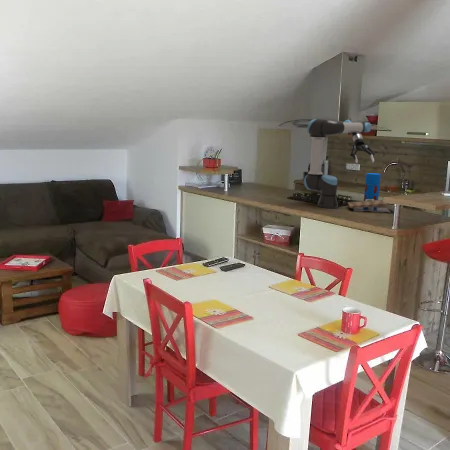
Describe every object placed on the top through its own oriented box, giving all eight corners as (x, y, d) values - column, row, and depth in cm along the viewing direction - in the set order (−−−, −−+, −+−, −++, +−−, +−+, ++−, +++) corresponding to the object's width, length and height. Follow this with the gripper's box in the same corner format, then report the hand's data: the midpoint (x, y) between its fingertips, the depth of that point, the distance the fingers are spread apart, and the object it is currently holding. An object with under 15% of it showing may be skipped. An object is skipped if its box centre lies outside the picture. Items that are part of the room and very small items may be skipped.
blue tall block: (367, 207, 387) (371, 174, 382) (360, 204, 397) (363, 172, 392) (380, 207, 390) (383, 174, 385) (372, 204, 400) (376, 173, 395)
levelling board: (350, 208, 369) (350, 203, 368) (347, 204, 385) (347, 200, 384) (395, 205, 365) (395, 200, 364) (391, 201, 381) (391, 196, 380)
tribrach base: (354, 211, 370) (354, 205, 369) (351, 207, 384) (351, 202, 383) (390, 212, 368) (391, 207, 367) (386, 209, 381) (387, 204, 380)
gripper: (371, 143, 414) (378, 164, 404) (342, 144, 411) (348, 165, 400) (374, 137, 408) (381, 158, 397) (345, 138, 404) (351, 159, 394)
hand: (365, 162), depth 399 cm, fingers open, 13 cm apart
